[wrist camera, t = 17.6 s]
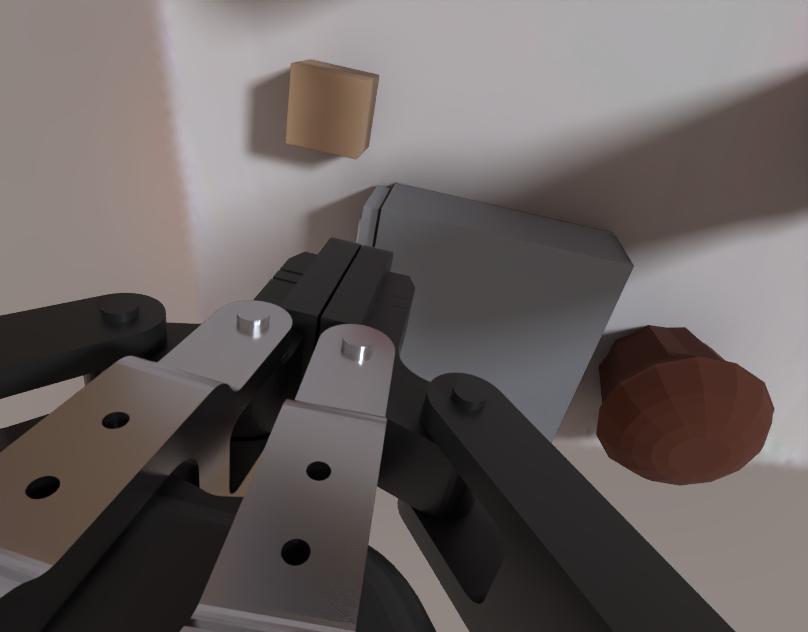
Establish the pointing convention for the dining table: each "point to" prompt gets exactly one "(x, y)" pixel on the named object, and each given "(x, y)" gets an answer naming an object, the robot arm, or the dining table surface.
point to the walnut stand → (330, 108)
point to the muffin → (679, 408)
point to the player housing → (502, 295)
